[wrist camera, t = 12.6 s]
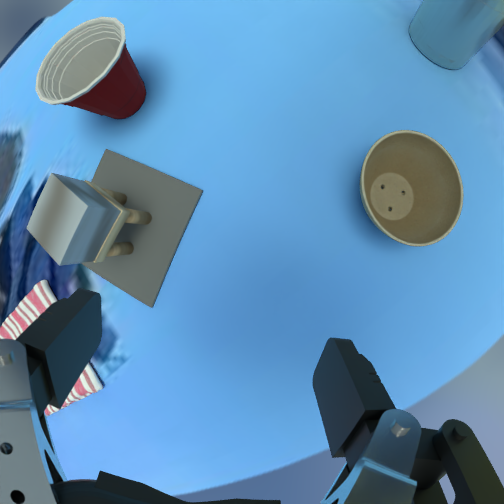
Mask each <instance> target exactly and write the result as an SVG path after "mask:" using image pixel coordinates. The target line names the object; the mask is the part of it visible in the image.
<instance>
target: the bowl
mask: <svg viewBox="0 0 504 504" xmlns="http://www.w3.org/2000/svg"><path fill="white" fill-rule="evenodd" d="M381 187H383V189H382V188H381ZM402 191H404V192H403V193H402ZM360 195H361V200H362V203H363V206H364V209H365V211H366V213H367V214H368V216H369V218H370V219H371V221H372V222H373V223H374V224H375V226H376V227H377V228H378V229H379V230H381V231H382V232H383V233H384V234H386V235H387V236H389V237H390V238H392V239H394V240H396V241H398V242H400V243H403V244H406V245H410V246H426V245H431V244H434V243H436V242H438V241H440V240H441V239H443V238H444V237H445V236H447V235H448V234H449V233H450V232H451V230H452V229H453V228H454V226H455V224H456V223H457V221H458V219H459V216H460V213H461V210H462V205H463V185H462V180H461V176H460V173H459V170H458V168H457V166H456V164H455V162H454V160H453V159H452V157H451V155H450V154H449V153H448V152H447V150H446V149H445V148H444V147H443V146H442V145H441V144H439V143H438V142H437V141H436V140H434V139H433V138H431V137H429V136H427V135H425V134H423V133H420V132H416V131H410V130H400V131H395V132H391V133H389V134H387V135H385V136H383V137H382V138H380V139H379V140H378V141H377V142H376V143H375V144H374V145H373V146H372V147H371V149H370V150H369V152H368V154H367V155H366V158H365V160H364V163H363V166H362V169H361V175H360ZM390 208H392V210H390Z"/></svg>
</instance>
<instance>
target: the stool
mask: <svg viewBox="0 0 504 504" xmlns="http://www.w3.org/2000/svg"><path fill="white" fill-rule="evenodd" d="M126 201H127V196H126V195H125V194H123V193H119V192H116V191H112V190H108V189H104V188H100V187H99V186H97V185H96V184H95V183H94V182H90V181H86V180H85V181H81V180H77V179H73V178H70V177H66V176H62V175H58V174H54V173H51V175H50V177H49V179H48V181H47V183H46V185H45V187H44V189H43V191H42V193H41V196H40V198H39V200H38V202H37V204H36V207H35V209H34V211H33V214H32V216H31V218H30V221H29V223H28V226H27V229H28V230H29V232H30V233H31V234H32V235H33V236H34V238H35V239H36V240H37V241H38V242H39V243H40V244H41V246H42V247H43V248H44V249H45V250H46V251H47V252H48V253H49V255H50V256H51V257H52V258H53V259H54V260H55V261H56V262H57V263H58V264H59V265H68V264H76V263H84V262H92V261H93V262H94V263H97V262H103V261H104V259H105V257H110V256H119V255H129V254H131V253H132V252H133V250H134V247H133V244H132V243H130V242H114V241H115V239H116V237H117V235H118V233H119V232H120V230H121V228H122V226H123V225H124V223H133V224H143V225H147V224H149V223H150V222H151V220H152V216H151V214H150V213H149V212H144V211H139V210H133V209H128V208H125V207H124V206H122V205H124V204H125V203H126Z"/></svg>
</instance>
